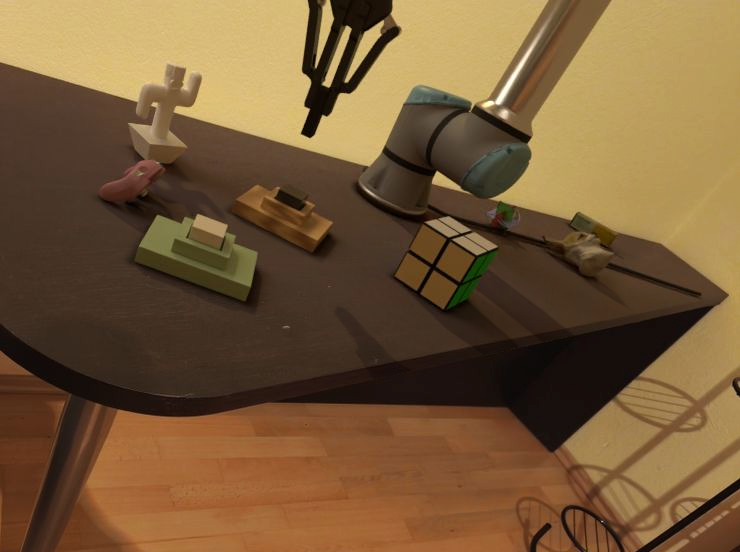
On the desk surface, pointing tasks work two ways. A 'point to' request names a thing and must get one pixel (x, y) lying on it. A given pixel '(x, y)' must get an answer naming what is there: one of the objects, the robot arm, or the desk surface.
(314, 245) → the wooden socket base
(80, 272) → the desk surface
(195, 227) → the white key
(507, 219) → the geometric puzzle
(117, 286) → the desk surface
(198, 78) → the figurine
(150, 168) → the pink rounded piece
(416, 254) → the puzzle cube
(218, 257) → the green stepped button base
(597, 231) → the medication box
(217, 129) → the desk surface
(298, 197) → the black key
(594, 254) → the ceramic sculpture
